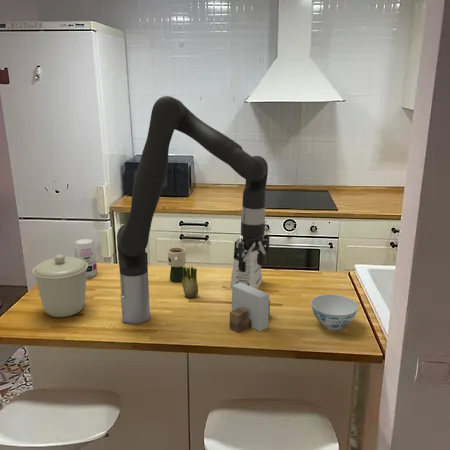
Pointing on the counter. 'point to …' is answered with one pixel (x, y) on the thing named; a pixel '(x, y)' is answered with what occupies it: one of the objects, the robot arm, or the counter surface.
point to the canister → (62, 285)
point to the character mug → (176, 262)
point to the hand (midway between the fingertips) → (251, 268)
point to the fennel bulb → (190, 282)
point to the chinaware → (333, 310)
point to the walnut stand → (240, 319)
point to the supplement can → (86, 255)
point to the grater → (247, 271)
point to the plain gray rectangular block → (252, 304)
